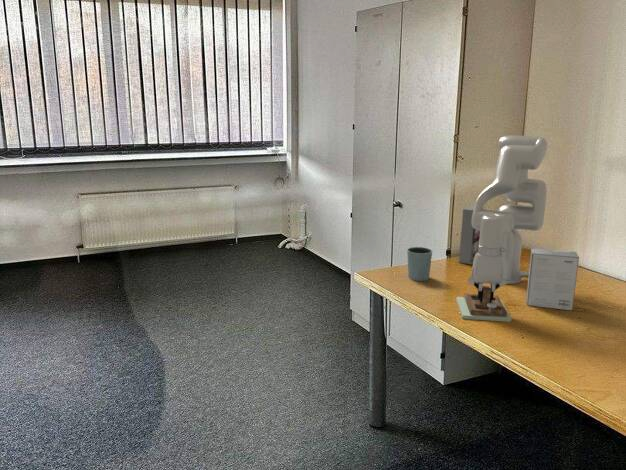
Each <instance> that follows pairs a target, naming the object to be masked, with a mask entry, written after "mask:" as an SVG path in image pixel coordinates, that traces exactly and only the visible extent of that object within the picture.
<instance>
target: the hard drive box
mask: <svg viewBox="0 0 626 470" xmlns="http://www.w3.org/2000/svg"><path fill="white" fill-rule="evenodd" d="M530 249H531V250H530V257H529V270H528V273H529V277H527V278H528V279H527V281H528V282H527V289H526V298H525V300H526V305H527V306H531V307H539V308H548V309H549V308H550V309H555V310H556V309H557V310H563V311H564V310H565V311H573V309H574V300H575V294H576V293H575V291H576V287H577V286H576V283H577V276H578V268H579V262H580V257H579V255H578V253H577V251H569V250H568V251H567V250H558V249H557V250H556V249H555V250H554V249H543V248H542V249H541V248H530Z"/></svg>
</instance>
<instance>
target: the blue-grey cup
mask: <svg viewBox="0 0 626 470" xmlns="http://www.w3.org/2000/svg"><path fill="white" fill-rule="evenodd" d="M406 252H407V253H406V254H407V273H408V274H407V276H408V279H410V280H411V281H417V282H425V281H429V279H430V275H431V274H430V272H431V265H432V258H433V257H432V255H433V250H432V249H431V248H427V247H424V246H423V247H422V246H421V247H420V246H415V247H414V246H413V247H409V248H407V251H406Z"/></svg>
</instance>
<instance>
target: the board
mask: <svg viewBox="0 0 626 470" xmlns="http://www.w3.org/2000/svg"><path fill="white" fill-rule="evenodd" d="M472 300H477V299H472ZM500 300H501V302H502V304H503V306H504V307H505V309H506V311H507V316H492V315H475V314H470V312H469V309H468V307H467V304H466V301H465V299H464V296H456V303H457V306H458V309H459V313H460V315H461V319H462V320H477V321H489V322H490V321H491V322H492V321H493V322H507V323H510V322H511V323H512V317H511V315H510V314H509V312H508V309H507V308H506V306H505V304H504V302H503V301H502V299H500ZM487 307H489V310H490V309H494V308H496V307H497V304H495V303H487ZM476 309H478V308H476ZM483 310H488V309H483Z"/></svg>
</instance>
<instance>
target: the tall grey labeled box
mask: <svg viewBox="0 0 626 470" xmlns="http://www.w3.org/2000/svg"><path fill="white" fill-rule="evenodd" d="M474 205H475V204H471V205H469V206H466V207H465V208H463V209H462V219H461V233H460V234H461V235H460V243H459V245H460V246H459V255H458V263H460V264H467V265H473V262H474V257H475V254H476V253H477V252H478V250H479V239H480V230H477V229H475V228H473V226H472V214H473V210H474ZM484 207H485V206H484ZM484 207H483V209H484Z"/></svg>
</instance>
